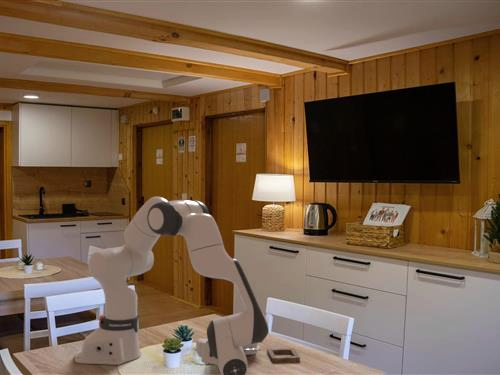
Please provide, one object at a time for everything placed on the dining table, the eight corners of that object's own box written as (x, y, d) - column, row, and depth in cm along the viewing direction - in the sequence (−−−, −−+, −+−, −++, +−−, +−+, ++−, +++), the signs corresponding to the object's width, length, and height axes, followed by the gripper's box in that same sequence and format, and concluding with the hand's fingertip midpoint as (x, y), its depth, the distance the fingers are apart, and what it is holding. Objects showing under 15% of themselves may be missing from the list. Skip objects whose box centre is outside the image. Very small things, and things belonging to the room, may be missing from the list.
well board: (272, 362, 179) (272, 358, 179) (267, 352, 189) (267, 348, 188) (299, 361, 180) (300, 357, 180) (293, 352, 190) (293, 348, 190)
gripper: (261, 341, 163) (255, 328, 177) (197, 342, 160) (195, 329, 174) (261, 360, 163) (254, 346, 177) (197, 362, 160) (195, 348, 174)
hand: (225, 338), depth 175 cm, fingers open, 8 cm apart
